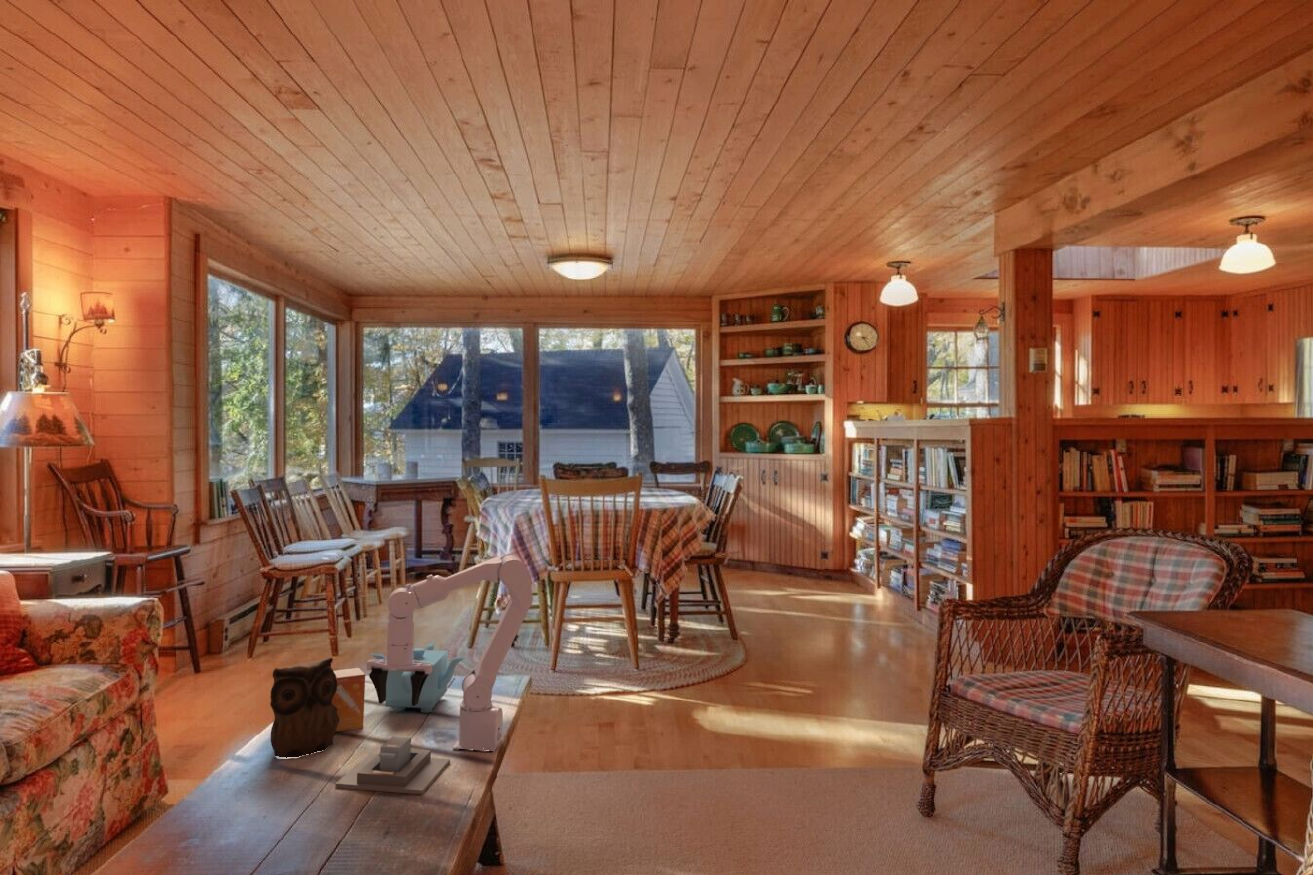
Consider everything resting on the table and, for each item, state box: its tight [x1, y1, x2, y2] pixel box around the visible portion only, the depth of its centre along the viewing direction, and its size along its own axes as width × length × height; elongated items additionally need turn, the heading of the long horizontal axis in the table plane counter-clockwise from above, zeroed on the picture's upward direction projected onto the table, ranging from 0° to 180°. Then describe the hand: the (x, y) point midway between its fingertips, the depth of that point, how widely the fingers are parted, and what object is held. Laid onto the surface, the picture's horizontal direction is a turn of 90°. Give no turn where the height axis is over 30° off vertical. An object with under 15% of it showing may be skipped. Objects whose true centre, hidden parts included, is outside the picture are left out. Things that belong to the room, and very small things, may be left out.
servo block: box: [378, 735, 412, 772], centre depth 177 cm, size 4×9×6 cm, turn 174°
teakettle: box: [370, 642, 467, 714], centre depth 220 cm, size 19×19×15 cm
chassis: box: [335, 748, 451, 795], centre depth 177 cm, size 18×16×3 cm
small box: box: [332, 667, 366, 733], centre depth 203 cm, size 8×6×13 cm
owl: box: [269, 657, 340, 758], centre depth 187 cm, size 13×13×20 cm
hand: (398, 703), depth 190 cm, fingers open, 7 cm apart
